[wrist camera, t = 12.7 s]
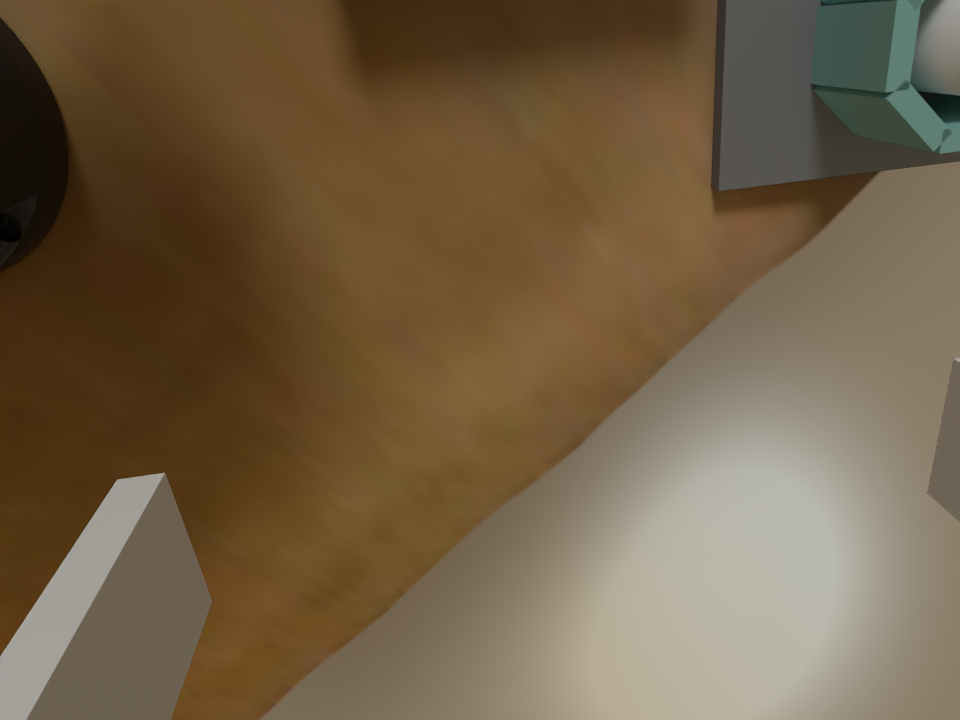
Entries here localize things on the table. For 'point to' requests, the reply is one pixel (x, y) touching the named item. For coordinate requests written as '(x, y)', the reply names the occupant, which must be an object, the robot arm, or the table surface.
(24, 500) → the table surface
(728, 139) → the stand
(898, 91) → the collar
